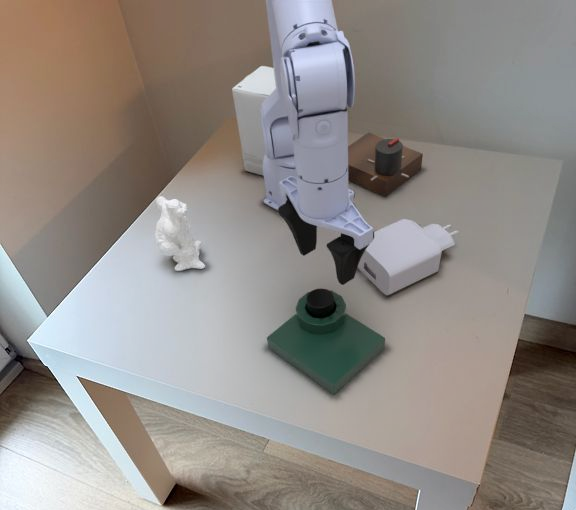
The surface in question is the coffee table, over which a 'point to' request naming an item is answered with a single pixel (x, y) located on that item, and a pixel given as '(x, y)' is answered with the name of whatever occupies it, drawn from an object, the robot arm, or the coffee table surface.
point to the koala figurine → (176, 235)
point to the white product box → (253, 115)
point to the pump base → (326, 344)
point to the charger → (404, 254)
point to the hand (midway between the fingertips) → (326, 265)
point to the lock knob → (388, 156)
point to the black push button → (320, 303)
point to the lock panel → (364, 166)
